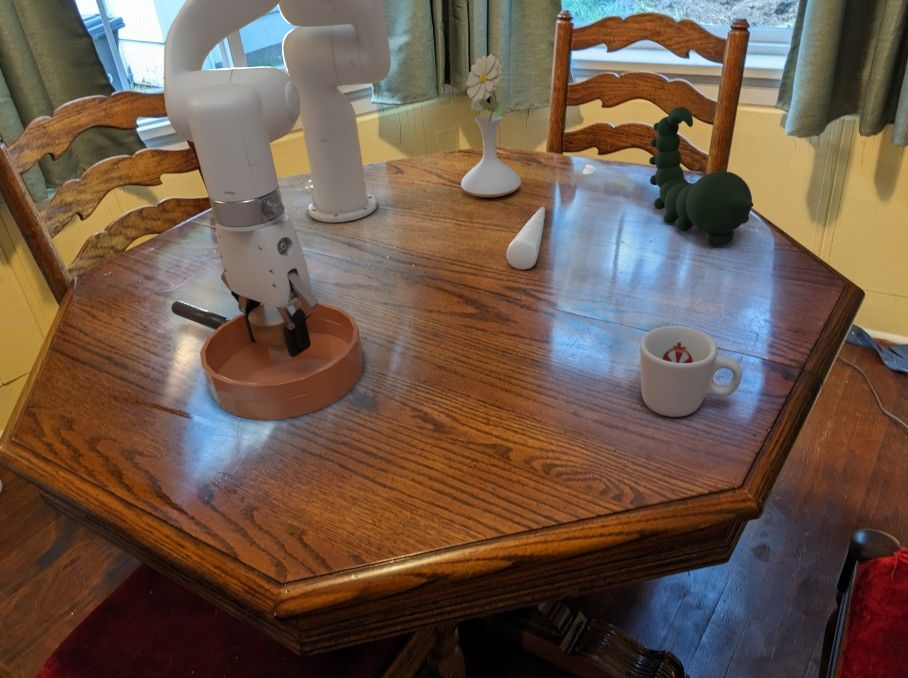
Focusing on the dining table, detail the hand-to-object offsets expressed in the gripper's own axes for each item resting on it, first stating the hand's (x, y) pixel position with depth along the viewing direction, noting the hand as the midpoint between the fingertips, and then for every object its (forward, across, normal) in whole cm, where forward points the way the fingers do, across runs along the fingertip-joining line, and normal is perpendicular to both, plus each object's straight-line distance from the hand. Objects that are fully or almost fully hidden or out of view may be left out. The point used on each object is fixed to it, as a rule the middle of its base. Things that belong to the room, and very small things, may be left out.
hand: (280, 343), depth 90 cm
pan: (+5, 0, 0) cm, 5 cm away
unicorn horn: (+5, -8, -48) cm, 49 cm away
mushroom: (+2, 0, 0) cm, 2 cm away
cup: (+5, -45, -18) cm, 49 cm away
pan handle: (+2, +15, 0) cm, 15 cm away
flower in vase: (+4, +9, -63) cm, 64 cm away
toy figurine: (+5, -30, -64) cm, 70 cm away
